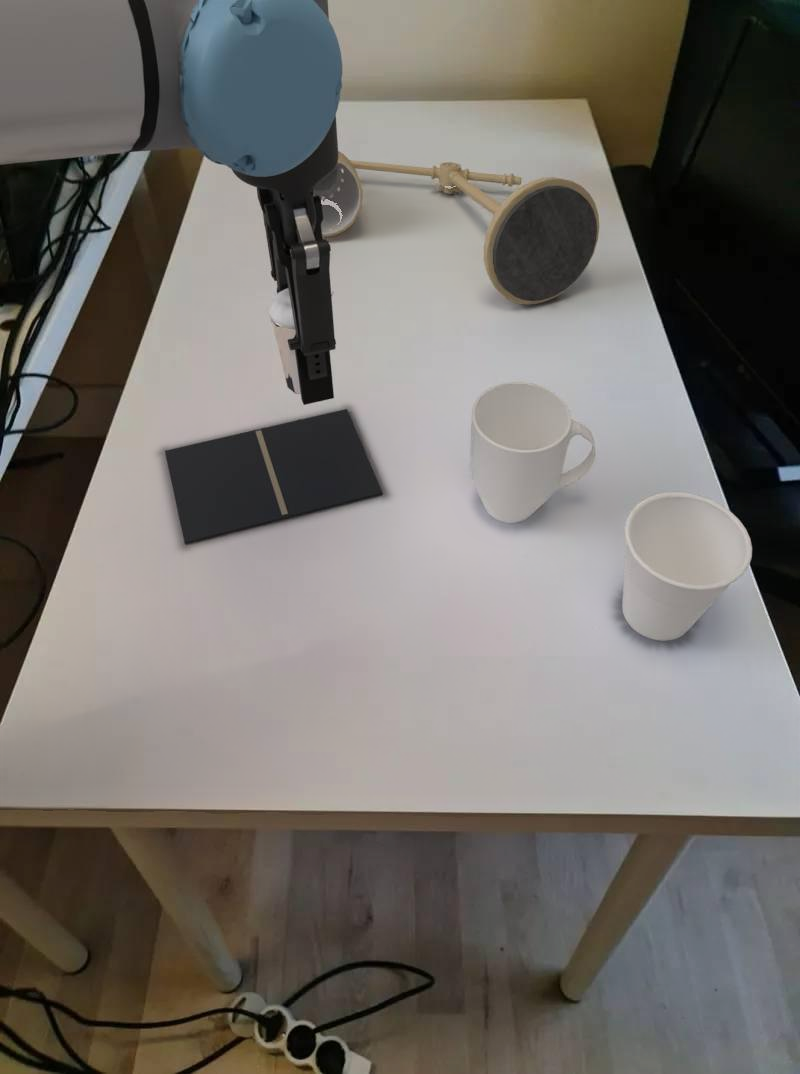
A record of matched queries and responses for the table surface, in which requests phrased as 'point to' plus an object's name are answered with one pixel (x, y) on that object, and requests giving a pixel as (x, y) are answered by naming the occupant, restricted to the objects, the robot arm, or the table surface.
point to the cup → (679, 561)
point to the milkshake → (285, 336)
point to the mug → (522, 448)
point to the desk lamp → (497, 224)
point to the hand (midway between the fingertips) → (310, 380)
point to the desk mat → (269, 475)
